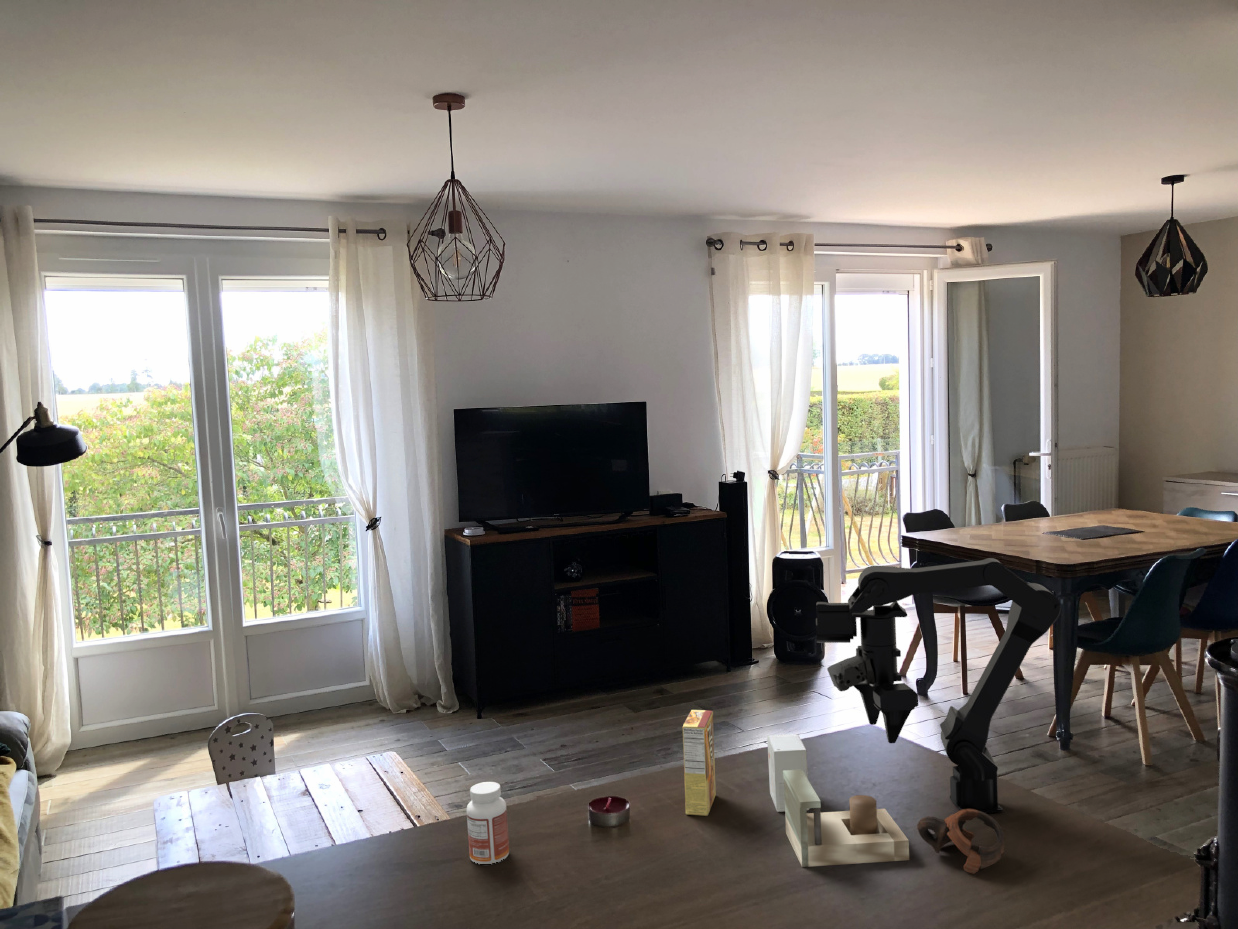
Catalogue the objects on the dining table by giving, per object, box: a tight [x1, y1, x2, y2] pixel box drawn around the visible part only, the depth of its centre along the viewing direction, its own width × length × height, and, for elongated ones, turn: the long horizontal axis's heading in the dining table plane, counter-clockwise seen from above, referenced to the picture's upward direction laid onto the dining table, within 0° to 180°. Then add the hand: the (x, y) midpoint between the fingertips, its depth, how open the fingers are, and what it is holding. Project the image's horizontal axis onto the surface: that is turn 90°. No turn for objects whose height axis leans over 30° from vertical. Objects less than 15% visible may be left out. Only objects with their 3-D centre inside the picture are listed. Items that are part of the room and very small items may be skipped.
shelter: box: [783, 769, 910, 868], centre depth 142 cm, size 16×12×10 cm
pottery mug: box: [916, 809, 1005, 875], centre depth 136 cm, size 12×10×8 cm
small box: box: [766, 733, 810, 813], centre depth 158 cm, size 8×6×10 cm
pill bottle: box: [466, 781, 510, 865], centre depth 144 cm, size 6×6×11 cm
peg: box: [848, 794, 878, 835], centre depth 142 cm, size 4×4×7 cm
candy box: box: [682, 709, 716, 817], centre depth 159 cm, size 9×4×15 cm, turn 166°
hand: (882, 733), depth 156 cm, fingers open, 9 cm apart
